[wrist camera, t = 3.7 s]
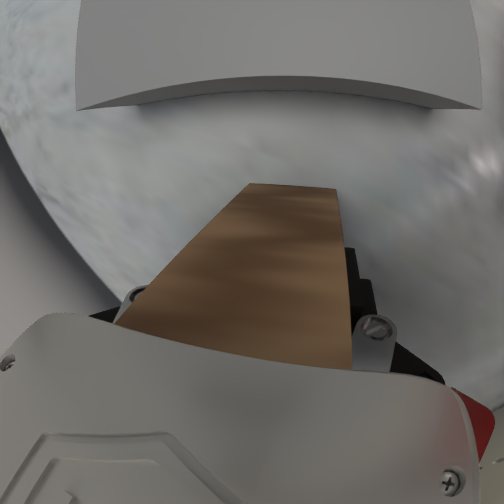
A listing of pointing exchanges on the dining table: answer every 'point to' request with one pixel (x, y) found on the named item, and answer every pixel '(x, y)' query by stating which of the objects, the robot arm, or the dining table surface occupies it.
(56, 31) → the dining table surface
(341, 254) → the brown rectangular block
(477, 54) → the well block
